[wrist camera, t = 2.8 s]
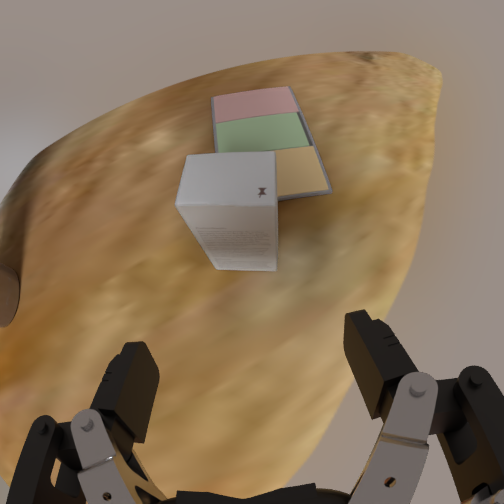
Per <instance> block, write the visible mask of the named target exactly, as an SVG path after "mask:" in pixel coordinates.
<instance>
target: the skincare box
mask: <svg viewBox="0 0 504 504" xmlns="http://www.w3.org/2000/svg"><path fill="white" fill-rule="evenodd" d="M175 207H176V209H177V210H178V212H179V213H180V215H181V216H182V218H183V219H184V221H185V222H186V224H187V225H188V227H189V228H190V230H191V232H192V233H193V235H194V236H195V238H196V239H197V241H198V242H199V244H200V246H201V247H202V249H203V250H204V252H205V253H206V255H207V256H208V258H209V259H210V261H211V262H212V264H213V265H214V267H215V268H216V269H217V270H247V271H277V264H278V200H277V163H276V153H275V152H274V151H257V152H226V153H209V154H194V155H187V158H186V162H185V165H184V169H183V173H182V176H181V180H180V184H179V188H178V192H177V197H176V201H175Z"/></svg>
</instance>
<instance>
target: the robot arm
mask: <svg viewBox="0 0 504 504" xmlns="http://www.w3.org/2000/svg"><path fill="white" fill-rule="evenodd" d="M18 300H19V281H18V277H17V274H16V272H15V271H14V270H13V269H11V268H10V267H8V266H6V265H4V264H2V263H0V327H5V326H7V325H8V324H9V323H10V322H11V321H12V319H13V317H14V315H15V312H16V309H17V305H18ZM343 344H344V351H345V355H346V358H347V360H348V363H349V365H350V367H351V370H352V372H353V374H354V377H355V379H356V382H357V384H358V386H359V389H360V391H361V394H362V396H363V398H364V401H365V404H366V406H367V409H368V411H369V414H370V416H371V419H372V420H373V419H376V418H378V417H381V419H382V421H383V423H384V424H383V426H382V429H381V431H380V434H379V436H378V438H377V441H376V443H375V445H374V448H373V450H372V452H371V455H370V457H369V459H368V461H367V463H366V465H365V467H364V469H363V471H362V473H361V475H360V477H359V479H358V480H357V482H356V484H355V486H354V488H353V490H352V492H351V493H350V495H349V494H347V493H344V492H341V491H337V490H332V489H320V488H319V489H318V488H316V485H315V483H311V484H305V485H300V486H293V487H287V488H280V489H277V490H274V491H271V492H268V493H264V494H261V495H258V496H254V497H251V498H247V499H239V498H234V497H228V496H223V495H219V494H214V493H210V492H191V491H177V494H176V497H174V498H170V499H167V498H166V496H165V495H164V494H163V493H162V492H161V491H160V490H159V489H158V488H157V487H156V486H155V484H154V483H153V481H152V480H151V478H150V477H149V475H148V473H147V472H146V470H145V468H144V467H143V465H142V463H141V461H140V460H139V458H138V456H137V454H136V452H135V451H134V450H133V449H132V447H133V443H134V442H135V443H144V442H145V437H146V433H147V428H148V424H149V420H150V415H151V411H152V407H153V403H154V399H155V395H156V391H157V387H158V383H159V378H160V376H159V370H158V367H157V365H156V363H155V361H154V359H153V357H152V355H151V353H150V351H149V349H148V347H147V345H146V344H145V343H144V342H143V341H141V342H127V343H125V345H124V347H123V349H122V351H121V353H120V354H117V355H116V356H115V357H114V359H113V360H112V361H111V362H110V363H109V365H108V367H107V369H106V372H105V373H106V374H104V376H103V378H102V382H101V383H100V385H99V387H98V390H97V392H96V394H95V397H94V399H93V401H92V404H91V406H90V408H89V409H85V410H82V411H80V412H79V413H77V414H76V415H75V416H74V418H73V419H72V421H71V422H64V423H57V422H56V421H55V420H54V419H53V418H52V417H51V416H48V415H43V416H40V417H38V418H37V419H36V420H35V421H34V422H33V424H32V426H31V428H30V431H29V433H28V436H27V438H26V441H25V444H24V446H23V449H22V452H21V455H20V457H19V460H18V463H17V466H16V469H15V473H14V476H13V479H12V483H11V486H10V490H9V494H8V497H7V502H6V504H86V500H87V502H88V504H410V502H411V499H412V497H413V495H414V492H415V490H416V487H417V484H418V482H419V479H420V476H421V473H422V470H423V467H424V464H425V461H426V458H427V454H428V450H429V445H428V444H427V438H428V435H433V434H436V435H437V437H438V440H439V442H440V444H441V447H442V450H443V452H444V455H445V457H446V460H447V462H448V465H449V468H450V471H451V474H452V477H453V480H454V482H455V486H456V488H457V492H458V495H459V498H460V501H461V504H504V396H503V395H502V393H501V391H500V389H499V388H498V386H497V385H496V383H495V382H494V380H493V379H492V377H491V375H490V374H489V373H488V371H486V370H485V369H484V368H482V367H479V366H469V367H466V368H465V369H463V371H462V372H461V373H460V375H459V377H458V378H454V379H445V380H435V379H434V378H433V377H432V376H430V375H429V374H427V373H423V372H419V371H418V370H417V368H416V366H415V365H414V363H413V362H412V360H411V359H410V357H409V355H408V354H407V352H406V351H405V349H404V348H403V346H402V345H401V344H400V342H399V340H398V339H397V337H396V336H395V335H394V333H393V331H392V330H391V328H390V327H389V326H388V325H387V324H386V323H384V322H383V321H381V320H380V319H376V320H372V319H371V318H370V316H369V315H368V313H367V312H366V310H364V309H363V310H359V311H355V312H350V313H346V314H345V324H344V341H343ZM56 458H57V459H58V460H59V461H60V462H61V465H60V469H59V473H58V477H57V481H56V485H55V487H54V486H53V485H52V483H51V479H50V477H51V473H52V469H53V466H54V462H55V459H56Z"/></svg>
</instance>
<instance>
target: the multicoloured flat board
mask: <svg viewBox="0 0 504 504" xmlns="http://www.w3.org/2000/svg"><path fill="white" fill-rule="evenodd" d="M211 106H212V119H213V131H214V143H215V153H226V152H257V151H274V152H275V153H276V163H277V200H278V201H281V200H287V199H294V198H301V197H308V196H316V195H323V194H331V193H332V188H331V185H330V182H329V179H328V177H327V174H326V171H325V168H324V166H323V163H322V160H321V158H320V155H319V153H318V150H317V147H316V145H315V142H314V140H313V137H312V135H311V132H310V130H309V128H308V125H307V123H306V120H305V118H304V116H303V114H302V111H301V109H300V107H299V104H298V102H297V100H296V98H295V96H294V93H293V91H292V89H291V87H290V86H288V87H277V88H267V89H259V90H251V91H244V92H238V93H231V94H226V95H220V96H215V97H211Z"/></svg>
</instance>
